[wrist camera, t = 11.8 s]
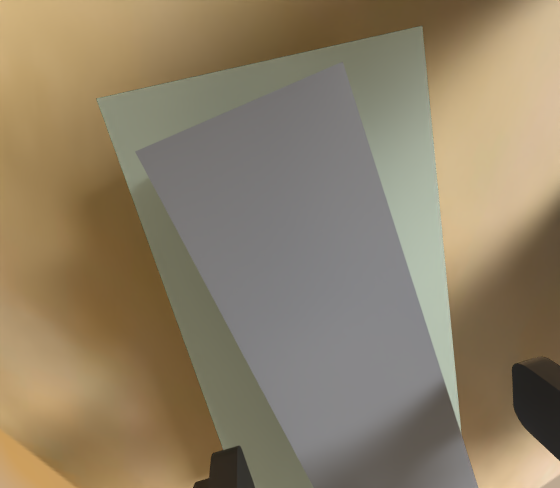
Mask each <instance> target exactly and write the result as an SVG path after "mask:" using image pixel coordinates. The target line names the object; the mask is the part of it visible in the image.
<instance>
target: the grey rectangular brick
mask: <svg viewBox="0 0 560 488" xmlns="http://www.w3.org/2000/svg"><path fill="white" fill-rule="evenodd" d="M135 152H136V154H137V156H138V158H139V160H140V162H141V164H142V166H143V168H144V169H145V171H146V173H147V175H148V177H149V179H150V181H151V183H152V184H153V186H154V188H155V190H156V192H157V194H158V196H159V198H160V200H161V201H162V203H163V205H164V207H165V209H166V211H167V213H168V215H169V216H170V218H171V220H172V222H173V224H174V226H175V228H176V230H177V232H178V233H179V235H180V237H181V239H182V241H183V243H184V245H185V247H186V248H187V250H188V252H189V254H190V256H191V258H192V260H193V262H194V263H195V265H196V267H197V269H198V271H199V273H200V275H201V277H202V279H203V280H204V282H205V284H206V286H207V288H208V290H209V292H210V294H211V295H212V297H213V299H214V301H215V303H216V305H217V307H218V309H219V311H220V312H221V314H222V316H223V318H224V320H225V322H226V324H227V326H228V327H229V329H230V331H231V333H232V335H233V337H234V339H235V341H236V343H237V344H238V346H239V348H240V350H241V352H242V354H243V356H244V358H245V359H246V361H247V363H248V365H249V367H250V369H251V371H252V373H253V375H254V376H255V378H256V380H257V382H258V384H259V386H260V388H261V390H262V391H263V393H264V395H265V397H266V399H267V401H268V403H269V405H270V406H271V408H272V410H273V412H274V414H275V416H276V418H277V420H278V422H279V423H280V425H281V427H282V429H283V431H284V433H285V435H286V437H287V438H288V440H289V442H290V444H291V446H292V448H293V450H294V452H295V454H296V455H297V457H298V459H299V461H300V463H301V465H302V467H303V469H304V470H305V472H306V474H307V476H308V478H309V480H310V482H311V484H312V486H313V487H314V488H478V485H477V482H476V479H475V476H474V473H473V469H472V466H471V463H470V460H469V457H468V454H467V451H466V447H465V444H464V441H463V438H462V435H461V432H460V429H459V426H458V422H457V419H456V416H455V413H454V410H453V407H452V404H451V400H450V397H449V394H448V391H447V388H446V385H445V382H444V378H443V375H442V372H441V369H440V366H439V363H438V360H437V356H436V353H435V350H434V347H433V344H432V341H431V338H430V334H429V331H428V328H427V325H426V322H425V319H424V316H423V312H422V309H421V306H420V303H419V300H418V297H417V294H416V290H415V287H414V284H413V281H412V278H411V275H410V272H409V268H408V265H407V262H406V259H405V256H404V253H403V250H402V246H401V243H400V240H399V237H398V234H397V231H396V228H395V224H394V221H393V218H392V215H391V212H390V209H389V206H388V202H387V199H386V196H385V193H384V190H383V187H382V184H381V180H380V177H379V174H378V171H377V168H376V165H375V162H374V158H373V155H372V152H371V149H370V146H369V143H368V140H367V137H366V133H365V130H364V127H363V124H362V121H361V118H360V115H359V111H358V108H357V105H356V102H355V99H354V96H353V93H352V89H351V86H350V83H349V80H348V77H347V74H346V71H345V67H344V64H343V62H340V63H338V64H336V65H334V66H331V67H329V68H327V69H324V70H322V71H320V72H317V73H315V74H313V75H311V76H308V77H306V78H304V79H301V80H299V81H297V82H294V83H292V84H290V85H287V86H285V87H283V88H281V89H278V90H276V91H274V92H271V93H269V94H267V95H264V96H262V97H260V98H257V99H255V100H253V101H251V102H248V103H246V104H244V105H241V106H239V107H237V108H234V109H232V110H230V111H227V112H225V113H223V114H221V115H218V116H216V117H214V118H211V119H209V120H207V121H204V122H202V123H200V124H197V125H195V126H193V127H191V128H188V129H186V130H184V131H181V132H179V133H177V134H174V135H172V136H170V137H168V138H165V139H163V140H161V141H158V142H156V143H154V144H151V145H149V146H147V147H144V148H142V149H140V150H138V151H135Z"/></svg>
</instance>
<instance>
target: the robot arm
mask: <svg viewBox="0 0 560 488" xmlns="http://www.w3.org/2000/svg"><path fill="white" fill-rule="evenodd" d="M512 381H513V405H514V410H515V413H516V415H517V417H518V419H519V420H520V422H521V423H522V425H523V426H524V427H525V428H526V430H527V431H528V432H530V433H531V434H532V435H533V436H534V437H535V438H536V439H537V440H538V441H539V442H540V443H541V444H542V445H543V446H544V447H545V448H547V449H548V450H549V451H550V452H551V453H552V454H553V455H554V456H555V457H556V458H557V459H558V460H559V461H560V366H559V365H558V364H556V363H555V362H553V361H551V360H550V359H548V358H546V357H536V358H533V359H530V360H526V361H523V362H520V363H516V364H514V365H513V367H512ZM193 488H255V485H254V482H253V479H252V477H251V474H250V471H249V468H248V465H247V462H246V459H245V457H244V454H243V451H242V448H241V446H240V445H238V446H235V447H232V448H228V449H225V450H222V451H218V452H215V453H213V454H212V457H211V465H210V475H209V478H208V479H205V480H202V481H198V482H196V483H195V485H194V487H193Z"/></svg>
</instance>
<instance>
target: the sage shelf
mask: <svg viewBox="0 0 560 488" xmlns="http://www.w3.org/2000/svg"><path fill="white" fill-rule="evenodd" d="M340 62H343V64H344V67H345V71H346V74H347V77H348V80H349V83H350V86H351V89H352V93H353V96H354V99H355V102H356V105H357V108H358V111H359V115H360V118H361V121H362V124H363V127H364V130H365V133H366V137H367V140H368V143H369V146H370V149H371V152H372V155H373V158H374V162H375V165H376V168H377V171H378V174H379V177H380V180H381V184H382V187H383V190H384V193H385V196H386V199H387V202H388V206H389V209H390V212H391V215H392V218H393V221H394V224H395V228H396V231H397V234H398V237H399V240H400V243H401V246H402V250H403V253H404V256H405V259H406V262H407V265H408V268H409V272H410V275H411V278H412V281H413V284H414V287H415V290H416V294H417V297H418V300H419V303H420V306H421V309H422V312H423V316H424V319H425V322H426V325H427V328H428V331H429V334H430V338H431V341H432V344H433V347H434V350H435V353H436V356H437V360H438V363H439V366H440V369H441V372H442V375H443V378H444V382H445V385H446V388H447V391H448V394H449V397H450V400H451V404H452V407H453V410H454V413H455V416H456V419H457V422H458V426H459V429H460V432H461V424H460V413H459V403H458V392H457V382H456V372H455V361H454V351H453V340H452V330H451V319H450V309H449V299H448V288H447V278H446V267H445V257H444V246H443V236H442V226H441V215H440V205H439V194H438V184H437V173H436V163H435V153H434V142H433V132H432V121H431V111H430V101H429V90H428V80H427V69H426V59H425V48H424V38H423V28H422V26H419V27H414V28H410V29H405V30H401V31H396V32H392V33H387V34H383V35H378V36H374V37H369V38H365V39H360V40H356V41H351V42H347V43H343V44H338V45H334V46H329V47H325V48H320V49H316V50H311V51H307V52H302V53H298V54H293V55H289V56H284V57H280V58H275V59H271V60H267V61H262V62H258V63H253V64H249V65H244V66H240V67H235V68H231V69H226V70H222V71H217V72H213V73H208V74H204V75H199V76H195V77H190V78H186V79H182V80H177V81H173V82H168V83H164V84H159V85H155V86H150V87H146V88H141V89H137V90H132V91H128V92H123V93H119V94H114V95H110V96H105V97H101V98H97V102H98V105H99V108H100V110H101V113H102V116H103V119H104V122H105V124H106V127H107V130H108V133H109V135H110V138H111V141H112V144H113V146H114V149H115V152H116V155H117V157H118V160H119V163H120V166H121V169H122V171H123V174H124V177H125V180H126V182H127V185H128V188H129V191H130V193H131V196H132V199H133V202H134V204H135V207H136V210H137V213H138V216H139V218H140V221H141V224H142V227H143V229H144V232H145V235H146V238H147V240H148V243H149V246H150V249H151V251H152V254H153V257H154V260H155V263H156V265H157V268H158V271H159V274H160V276H161V279H162V282H163V285H164V287H165V290H166V293H167V296H168V298H169V301H170V304H171V307H172V310H173V312H174V315H175V318H176V321H177V323H178V326H179V329H180V332H181V334H182V337H183V340H184V343H185V345H186V348H187V351H188V354H189V357H190V359H191V362H192V365H193V368H194V370H195V373H196V376H197V379H198V381H199V384H200V387H201V390H202V392H203V395H204V398H205V401H206V404H207V406H208V409H209V412H210V415H211V417H212V420H213V423H214V426H215V428H216V431H217V434H218V437H219V439H220V442H221V445H222V448H223V450H225V449H228V448H232V447H235V446H238V445H240V446H241V448H242V451H243V454H244V457H245V459H246V462H247V465H248V468H249V471H250V474H251V477H252V479H253V482H254V485H255V488H314V487H313V486H312V484H311V482H310V480H309V478H308V476H307V474H306V472H305V470H304V469H303V467H302V465H301V463H300V461H299V459H298V457H297V455H296V454H295V452H294V450H293V448H292V446H291V444H290V442H289V440H288V438H287V437H286V435H285V433H284V431H283V429H282V427H281V425H280V423H279V422H278V420H277V418H276V416H275V414H274V412H273V410H272V408H271V406H270V405H269V403H268V401H267V399H266V397H265V395H264V393H263V391H262V390H261V388H260V386H259V384H258V382H257V380H256V378H255V376H254V375H253V373H252V371H251V369H250V367H249V365H248V363H247V361H246V359H245V358H244V356H243V354H242V352H241V350H240V348H239V346H238V344H237V343H236V341H235V339H234V337H233V335H232V333H231V331H230V329H229V327H228V326H227V324H226V322H225V320H224V318H223V316H222V314H221V312H220V311H219V309H218V307H217V305H216V303H215V301H214V299H213V297H212V295H211V294H210V292H209V290H208V288H207V286H206V284H205V282H204V280H203V279H202V277H201V275H200V273H199V271H198V269H197V267H196V265H195V263H194V262H193V260H192V258H191V256H190V254H189V252H188V250H187V248H186V247H185V245H184V243H183V241H182V239H181V237H180V235H179V233H178V232H177V230H176V228H175V226H174V224H173V222H172V220H171V218H170V216H169V215H168V213H167V211H166V209H165V207H164V205H163V203H162V201H161V200H160V198H159V196H158V194H157V192H156V190H155V188H154V186H153V184H152V183H151V181H150V179H149V177H148V175H147V173H146V171H145V169H144V168H143V166H142V164H141V162H140V160H139V158H138V156H137V154H136V152H135V151H138V150H140V149H142V148H144V147H147V146H149V145H151V144H154V143H156V142H158V141H161V140H163V139H165V138H168V137H170V136H172V135H174V134H177V133H179V132H181V131H184V130H186V129H188V128H191V127H193V126H195V125H197V124H200V123H202V122H204V121H207V120H209V119H211V118H214V117H216V116H218V115H221V114H223V113H225V112H227V111H230V110H232V109H234V108H237V107H239V106H241V105H244V104H246V103H248V102H251V101H253V100H255V99H257V98H260V97H262V96H264V95H267V94H269V93H271V92H274V91H276V90H278V89H281V88H283V87H285V86H287V85H290V84H292V83H294V82H297V81H299V80H301V79H304V78H306V77H308V76H311V75H313V74H315V73H317V72H320V71H322V70H324V69H327V68H329V67H331V66H334V65H336V64H338V63H340ZM461 435H462V434H461Z"/></svg>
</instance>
